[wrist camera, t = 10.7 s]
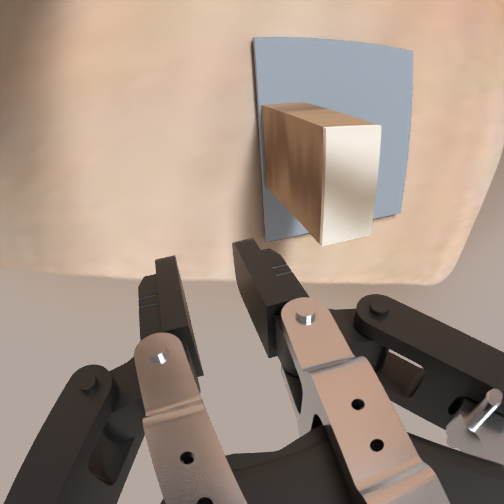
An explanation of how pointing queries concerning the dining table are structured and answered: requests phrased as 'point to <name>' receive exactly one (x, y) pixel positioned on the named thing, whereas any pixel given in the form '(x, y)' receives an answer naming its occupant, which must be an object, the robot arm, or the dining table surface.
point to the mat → (339, 106)
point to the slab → (322, 168)
